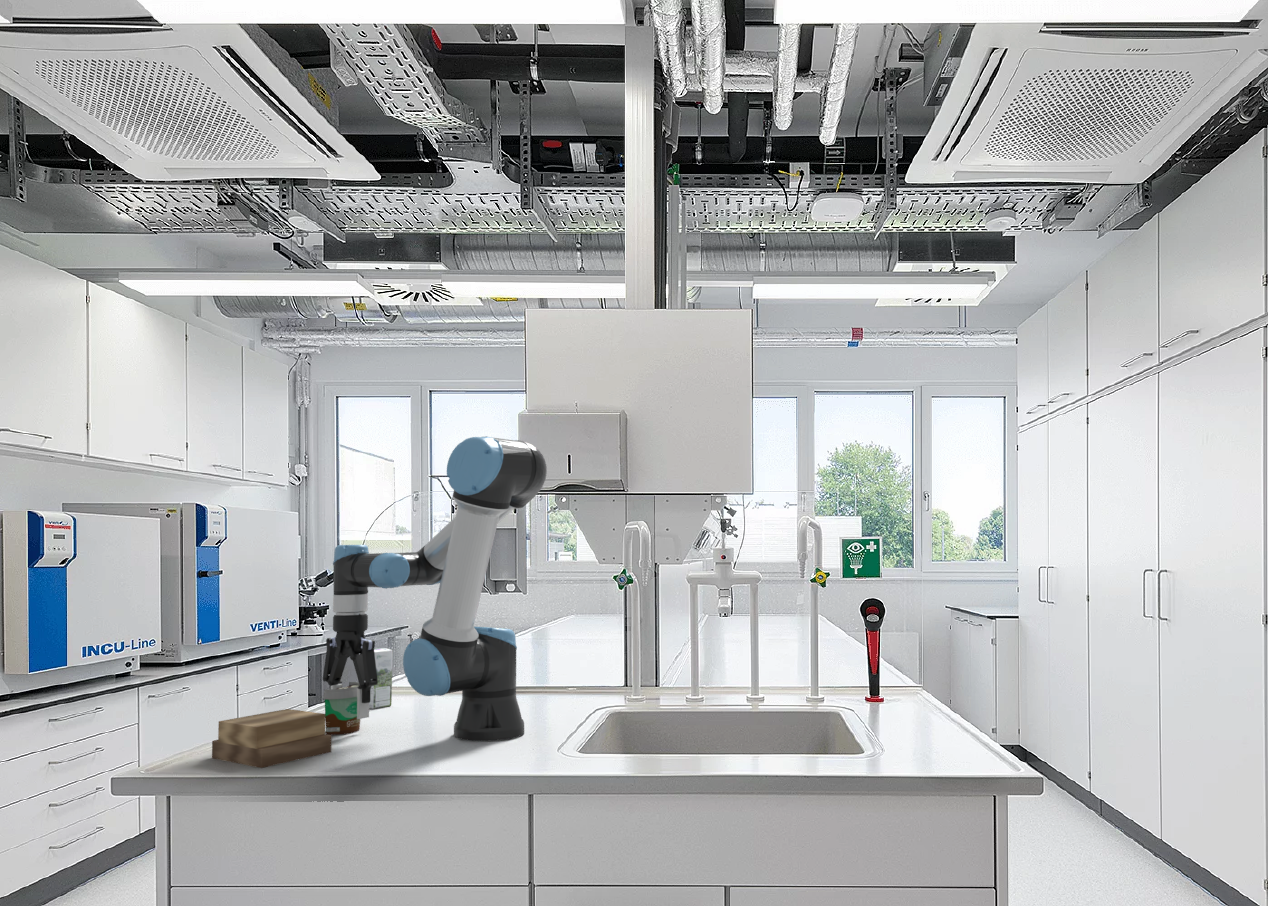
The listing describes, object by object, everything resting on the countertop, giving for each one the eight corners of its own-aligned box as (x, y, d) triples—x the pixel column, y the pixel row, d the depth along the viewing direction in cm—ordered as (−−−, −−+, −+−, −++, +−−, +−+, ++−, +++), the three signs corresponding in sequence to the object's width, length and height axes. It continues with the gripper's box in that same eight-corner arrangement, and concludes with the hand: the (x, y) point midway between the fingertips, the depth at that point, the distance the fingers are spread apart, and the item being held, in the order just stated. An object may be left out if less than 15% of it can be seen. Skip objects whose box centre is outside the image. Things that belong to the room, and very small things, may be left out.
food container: (348, 737, 211) (349, 690, 212) (322, 736, 213) (323, 689, 213) (374, 726, 223) (375, 681, 224) (349, 725, 225) (350, 681, 226)
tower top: (325, 734, 199) (325, 713, 199) (256, 748, 185) (256, 727, 186) (287, 728, 205) (287, 708, 205) (218, 742, 192) (218, 721, 192)
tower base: (331, 755, 197) (331, 735, 197) (261, 771, 184) (261, 750, 184) (281, 746, 206) (282, 727, 206) (211, 761, 193) (212, 740, 193)
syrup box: (378, 704, 254) (378, 647, 255) (392, 706, 250) (392, 648, 251) (359, 707, 250) (360, 649, 251) (373, 709, 246) (374, 651, 247)
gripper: (395, 613, 217) (394, 717, 216) (333, 610, 229) (332, 709, 227) (369, 616, 211) (368, 723, 209) (306, 613, 223) (305, 714, 221)
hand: (349, 716), depth 218 cm, fingers open, 8 cm apart
